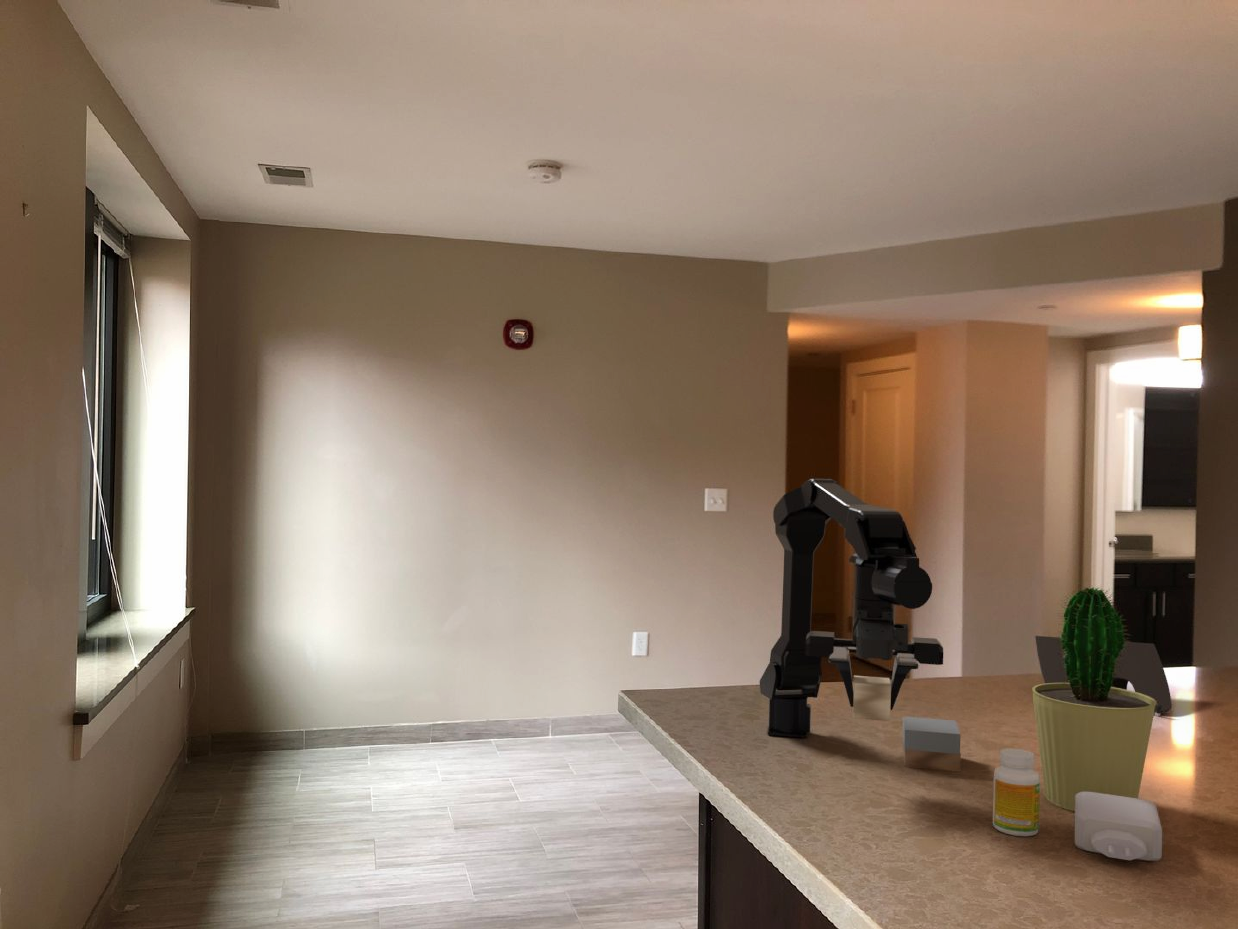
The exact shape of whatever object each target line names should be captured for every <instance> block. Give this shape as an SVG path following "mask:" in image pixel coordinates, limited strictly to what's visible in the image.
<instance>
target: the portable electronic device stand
mask: <svg viewBox="0 0 1238 929" xmlns="http://www.w3.org/2000/svg"><path fill="white" fill-rule="evenodd" d="M1055 637H1056V636H1045V635H1044V636H1041V635H1034V638H1035V646H1036V653H1037V658H1038V663H1039V667H1040V672H1041V675H1042V679H1043V683H1044V684H1046V683H1070V682H1069V681H1067V682H1066V681H1065V680H1068V679H1067V674H1066V671H1060V670H1066V668H1065V667H1063V666H1065V662H1061V661H1064V660H1065V656H1064V657H1062V656H1063V654H1065V655H1066V653H1064V652H1063V651H1064V650H1063V648H1062V644H1061V643H1060V642H1061V637H1060V636H1059V637H1058V636H1057V637H1058V638H1055ZM1059 641H1060V642H1059ZM1057 642H1058V644H1057ZM1059 643H1060V644H1059ZM1125 643H1126V644H1125ZM1124 645H1125V646H1124V647H1125V648H1124V649H1125V650H1124V649H1122V650H1121V651H1122V652H1121V651H1120V653H1119V656H1120V655H1121V656H1120V657H1121V658H1120V657H1119V656H1118V657H1117V658H1116V660H1117V659H1118V660H1117V661H1116V660H1115V663H1116V664H1118V665H1116V664H1115V666H1117V667H1120V668H1118V669H1117V667H1115V669H1114V673H1115V674H1116V675H1117V676H1115V675H1113V681H1112V683H1113V684H1114V685H1113V684H1112V685H1111V687H1112V686H1113V687H1115V688H1116V687H1117V688H1120V689H1125V690H1128V683H1130V684H1131V686H1132V688H1133V691H1134V692H1137V693H1141V694H1144V695H1147V696H1149V697H1151V698H1153V699H1154V700H1156V703H1157V704H1156V705H1155V708H1154V716H1155V717H1160V716H1161V713H1167V712H1169V711H1170V710H1172V706H1173V705H1172V698H1171V691H1170V687H1169V682H1168V679H1167V676H1166V673H1165V669H1164V666H1163V663H1162V661H1161V658H1160V654H1159V652H1158V650H1157V647H1156V646H1155V644H1154V643H1150V642H1149V643H1148V642H1147V643H1146V642H1134V641H1128V642H1126V641H1125V642H1124ZM1128 646H1129V647H1128ZM1061 650H1062V651H1061ZM1126 650H1127V651H1126ZM1124 651H1125V652H1124ZM1061 652H1062V653H1061ZM1058 653H1059V654H1058ZM1061 654H1062V656H1061ZM1059 655H1060V656H1059ZM1123 659H1124V660H1123ZM1119 660H1120V661H1119ZM1118 662H1120V663H1118ZM1121 664H1123V665H1121ZM1058 667H1059V668H1058ZM1062 668H1063V669H1062ZM1116 669H1117V670H1116ZM1119 669H1120V670H1119ZM1115 670H1116V671H1115ZM1118 671H1120V672H1118ZM1063 673H1065V675H1064V674H1063ZM1061 674H1062V675H1061ZM1118 676H1119V678H1118ZM1064 678H1065V679H1064ZM1116 680H1117V681H1116Z"/></svg>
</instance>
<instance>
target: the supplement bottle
mask: <svg viewBox="0 0 1238 929" xmlns="http://www.w3.org/2000/svg"><path fill="white" fill-rule="evenodd" d="M999 761H1000V763H1001V765H999V766H997V767H996V768H995V769H994V772H993V773H994V774H993V791H992V792H993V795H992V796H993V799H992V802H993V803H992V826H993V827H994V828H995V829H996V830H997V831H998V832H1001V833H1003V834H1007V835H1008V836H1016V837H1032V836H1035V835H1037V834H1038V833H1039V824H1040V790H1041V789H1040V788H1041V783H1040V781H1041V780H1040V775H1039V773H1038V772H1037V771H1036V770H1034V769H1033V767H1035V754H1034V753H1033V752H1032V751H1029V750H1025V749H1021V748H1011V747H1010V748H1009V747H1008V748H1007V747H1006V748H1003V749H1000V755H999Z"/></svg>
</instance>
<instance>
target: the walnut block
mask: <svg viewBox="0 0 1238 929" xmlns="http://www.w3.org/2000/svg"><path fill="white" fill-rule="evenodd" d="M901 738H902V739H901V740H902V741H901V743H902V744H901V745H902V746H901V752H902V753H901V754H902V758H903V764H904V767H906V768H917V769H926V770H927V769H928V770H929V769H930V770H937V771H938V770H941V771H949V772H950V771H951V772H961V764H962V762H961V760H962V756H961V755H962V754H961V752H960V754H952V753H940V752H929V751H918V750H906V749H904V742H903V735H902V736H901Z"/></svg>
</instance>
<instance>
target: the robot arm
mask: <svg viewBox="0 0 1238 929" xmlns="http://www.w3.org/2000/svg"><path fill="white" fill-rule="evenodd" d="M772 512H773V513H772V515H773V522H774V524H775V525H774V526H775V527H774V528H775V530H774V531H775V535H776V537H777V539H778V540H779V542H780V544H781V546H782V548H783V549H784V551H783V552H784V555H783V578H782V582H783V583H782V603H781V604H782V605H781V606H782V608H781V630H780V631H781V632H780V636H779V638H778V639H777V641H776V642H775V643H774V645H773V647H772V648H771V651H770V654H769V656H770V657H769V663H768V665H767V666H766V668H765V670H764V672H763V674H762V676H761V677H760V679H759V689H760V690H759V692H760V695H763V696H765V697H766V698H768V701H769V702H768V706H769V707H768V727H767V731H766V733H767V735H769V736H779V737H793V738H808V733H810V732H811V724H812V722H811V714H812V705H811V704H810V703H808V699H809V698H814V699H815V698H816V699H817V698H818V695H819V690H820V686H821V680H822V676H823V671H822V666H821V665H822V658H828V663H829V664H833V665H834V664H835V665H836V668H837V669H838V671H839V674H840V676H841V678H842V681H843V684H844V688H845V692H846V696H847V699H848V701H849V706H850V708H853V698H854V694H853V684H854V683H853V677H852V676H853V674H852V668H851V667H852V666H851V660H850V659H851V658H850V653H855V655H856V657H857V658H859V659H861V660H868V659H877V660H879V659H880V660H881V661H890V660H891V661H892V659H893V656H894V660H893V668H892V674H891V680H890V683H891V704H890V711H893V709H894V706H895V704H896V701H897V698H898V696H899V693H900V690H901V687H902V685H903V683H904V681H905V680H906V678H907V676H908V674H909V673H910V671H911V670H918V669H919V664H920V665H936V666H941V665H942V666H943V665H944V647H943V645H942V643H941V642H940V641H939V640H938V639H937V638H933V637H915V636H912V637H911V642H909V641H908V640H909V625H908V624H907V623H895V617H896V613H895V612H896V606H899V607H902V608H906V609H910V610H915V609H918V608H921V607H923V606H924V605H926V603H927V602H928V601H929V599H930V598H931V595H932V591H933V583H932V581H931V576H929V574H928V572H927V571H926V570H925V569H924V568H922V567H920V558H919V557H918V556H917V553H916V550H917V547H916V546H915V544H914V542H913V540H912V538H911V536H910V534H909V533H910V532H909V530H908V528H907V524H906V522H905V520H904V518H903V516H902V514H901V513H900V512H899V511H897V510H895V509H891V508H887V507H882V506H875V505H870V504H867V503H866V502H865V501H863V500H862V499H861V498H859V497H857V496H855V495H854V494H853V493H851V492H849V491H848V490H847V489H845V488H843V487H842V486H841V485H839V482H838V481H836V480H834V479H833V478H832V479H831V478H810V479H806V480H805V481H804V482H803V483H802V484H801V485H800V486H799V487H797V488H795V489H793V490H791V491H788V492H787V493H785V494H784V495H782V497H781V498H780V500H778V501H777V503H776V504H775V506H774V507H773V511H772ZM831 520H833V521H834V522H836V523H837V524H838V525H839V526H841V527H843V529H844V535H843V537H844V538H845V539H846V541H847V542H848V544H850V545H851V547H852V548H853V549H854V551H855V552H854V554H852V555H851V556H849V559H848V560H849V563H850V564H854V577H853V578H854V579H853V580H854V581H853V584H854V585H853V606H852V607H853V608H852V610H853V612H852V613H853V614H852V638H836V637H835V632H834V631H821V630H812V628H811V627H812V611H813V610H812V608H813V607H812V606H813V604H812V602H813V583H814V560H815V558H814V557H815V556H814V554H815V551H816V550H817V548H818V546H820V544H821V542H822V541H823V539H824V537H825V533H826V526H827V524H828V523H829V521H831Z"/></svg>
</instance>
